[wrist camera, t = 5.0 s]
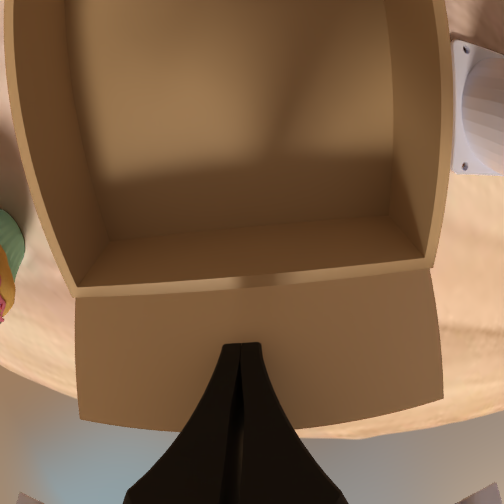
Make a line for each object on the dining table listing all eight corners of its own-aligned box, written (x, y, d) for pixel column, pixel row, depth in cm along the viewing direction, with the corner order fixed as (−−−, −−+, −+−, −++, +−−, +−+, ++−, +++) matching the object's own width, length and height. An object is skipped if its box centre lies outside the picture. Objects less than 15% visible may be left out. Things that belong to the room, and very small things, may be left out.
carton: (357, -116, 5) (384, -154, 1) (392, 220, 16) (432, 267, 12) (65, -73, 6) (21, -96, 2) (108, 246, 17) (72, 297, 13)
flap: (443, 398, 10) (438, 397, 11) (429, 268, 12) (424, 270, 13) (80, 419, 11) (85, 417, 12) (75, 297, 13) (81, 299, 13)
